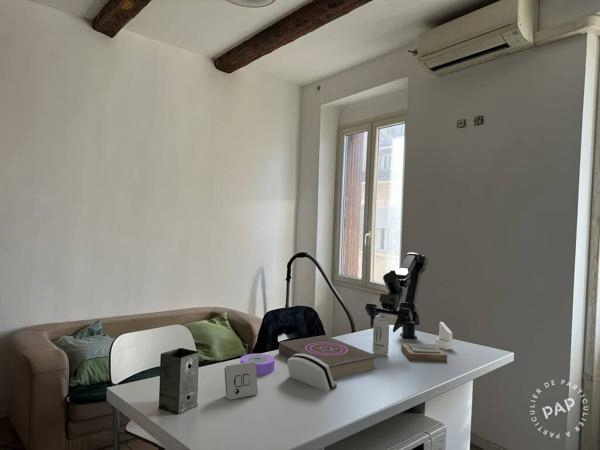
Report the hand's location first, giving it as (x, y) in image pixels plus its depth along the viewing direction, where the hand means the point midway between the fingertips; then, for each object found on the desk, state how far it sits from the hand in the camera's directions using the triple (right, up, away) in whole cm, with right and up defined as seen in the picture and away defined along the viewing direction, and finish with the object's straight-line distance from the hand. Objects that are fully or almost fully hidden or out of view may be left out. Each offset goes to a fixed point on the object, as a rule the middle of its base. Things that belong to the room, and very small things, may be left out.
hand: (382, 329), depth 168 cm
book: (-23, -10, -11) cm, 27 cm away
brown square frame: (+16, -10, 0) cm, 19 cm away
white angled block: (+28, -11, +12) cm, 32 cm away
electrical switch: (-50, -9, -44) cm, 67 cm away
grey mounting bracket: (-29, -9, -33) cm, 45 cm away
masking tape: (-47, -9, -22) cm, 52 cm away
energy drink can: (-1, -10, -1) cm, 10 cm away
